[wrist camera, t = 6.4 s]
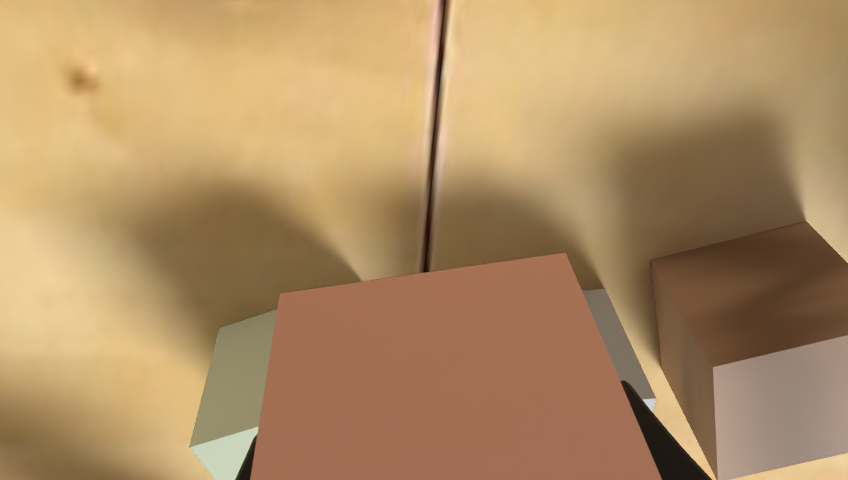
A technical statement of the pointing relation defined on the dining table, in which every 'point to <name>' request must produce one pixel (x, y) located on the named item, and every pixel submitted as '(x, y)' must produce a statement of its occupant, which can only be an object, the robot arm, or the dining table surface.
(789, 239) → the walnut cube
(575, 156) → the dining table surface
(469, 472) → the terracotta cube
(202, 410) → the sage cube
